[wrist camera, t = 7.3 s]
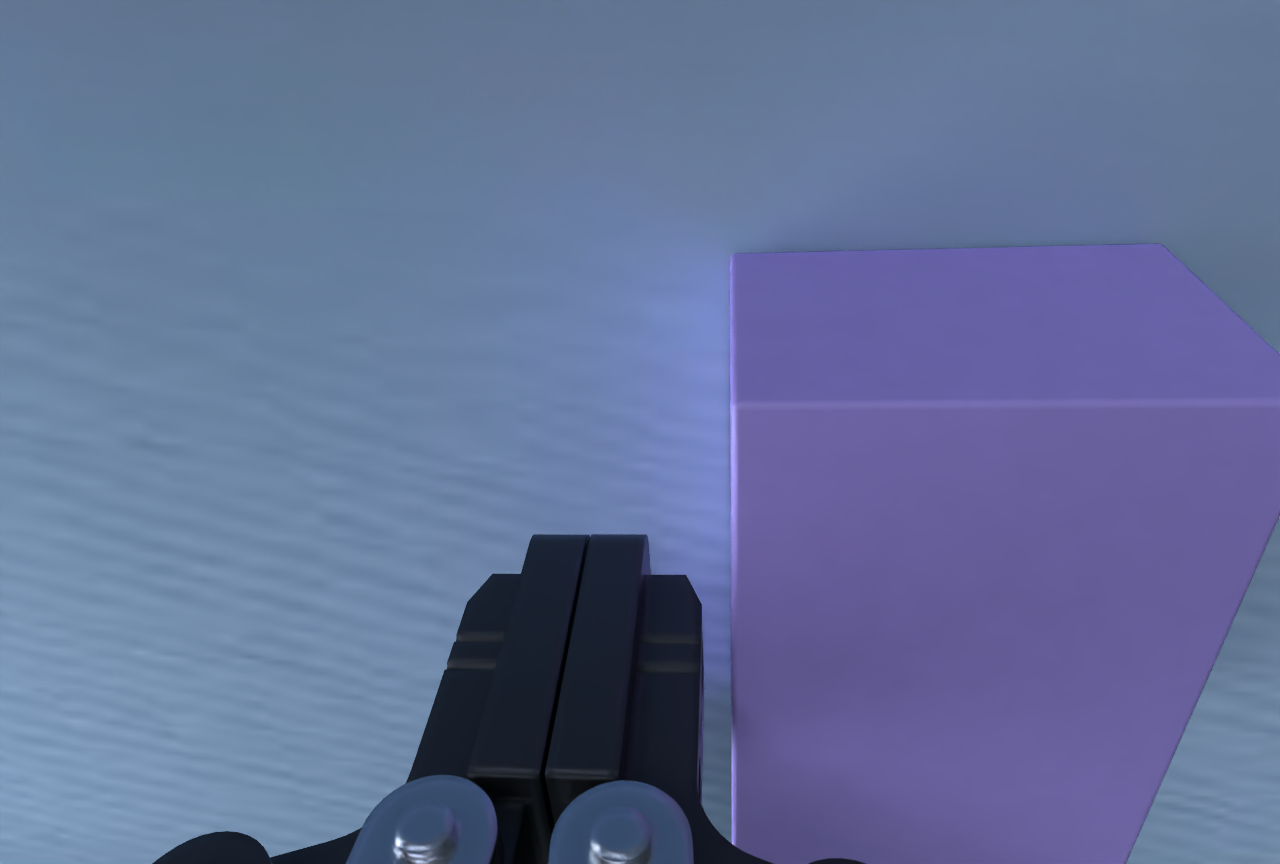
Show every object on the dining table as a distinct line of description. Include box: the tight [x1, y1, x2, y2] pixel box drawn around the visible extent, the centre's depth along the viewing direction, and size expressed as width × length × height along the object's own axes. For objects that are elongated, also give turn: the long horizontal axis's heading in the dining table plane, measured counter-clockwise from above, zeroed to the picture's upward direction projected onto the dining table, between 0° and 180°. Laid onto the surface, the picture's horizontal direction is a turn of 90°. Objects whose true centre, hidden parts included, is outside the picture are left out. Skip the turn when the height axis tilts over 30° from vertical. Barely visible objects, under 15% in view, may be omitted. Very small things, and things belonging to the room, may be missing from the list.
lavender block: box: [730, 244, 1280, 864], centre depth 11 cm, size 8×5×4 cm, turn 3°
